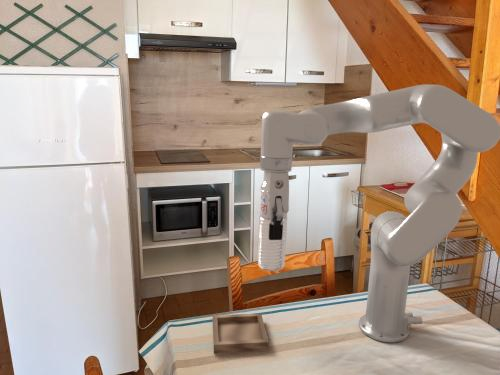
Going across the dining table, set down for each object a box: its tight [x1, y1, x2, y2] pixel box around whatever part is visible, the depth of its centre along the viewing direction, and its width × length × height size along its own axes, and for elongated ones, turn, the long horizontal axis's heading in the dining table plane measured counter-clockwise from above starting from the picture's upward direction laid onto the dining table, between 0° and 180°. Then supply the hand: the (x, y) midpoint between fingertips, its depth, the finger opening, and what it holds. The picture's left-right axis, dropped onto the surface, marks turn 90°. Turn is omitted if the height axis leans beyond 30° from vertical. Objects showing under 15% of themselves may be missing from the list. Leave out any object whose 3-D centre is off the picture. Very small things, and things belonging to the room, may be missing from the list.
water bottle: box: [257, 180, 288, 272], centre depth 106 cm, size 7×7×25 cm
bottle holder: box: [212, 312, 270, 354], centre depth 108 cm, size 13×13×2 cm
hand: (272, 233), depth 107 cm, fingers closed on water bottle, 6 cm apart
